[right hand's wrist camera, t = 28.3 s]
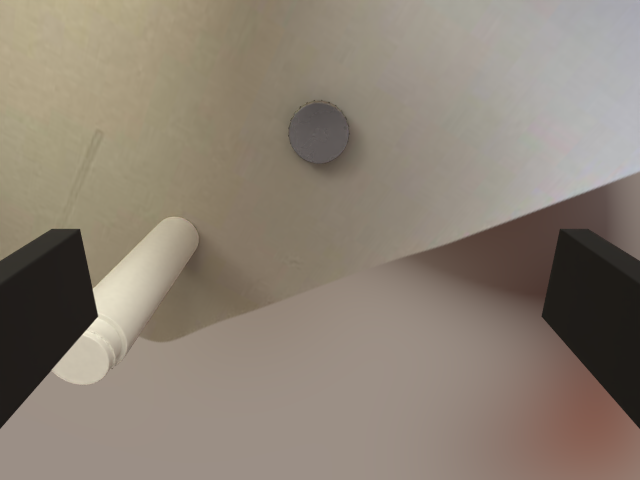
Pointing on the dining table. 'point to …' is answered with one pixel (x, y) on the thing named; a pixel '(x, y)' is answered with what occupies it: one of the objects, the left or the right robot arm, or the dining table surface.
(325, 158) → the lid
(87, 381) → the white stepped cylinder
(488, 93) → the dining table surface
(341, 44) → the dining table surface
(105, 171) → the dining table surface
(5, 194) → the dining table surface
